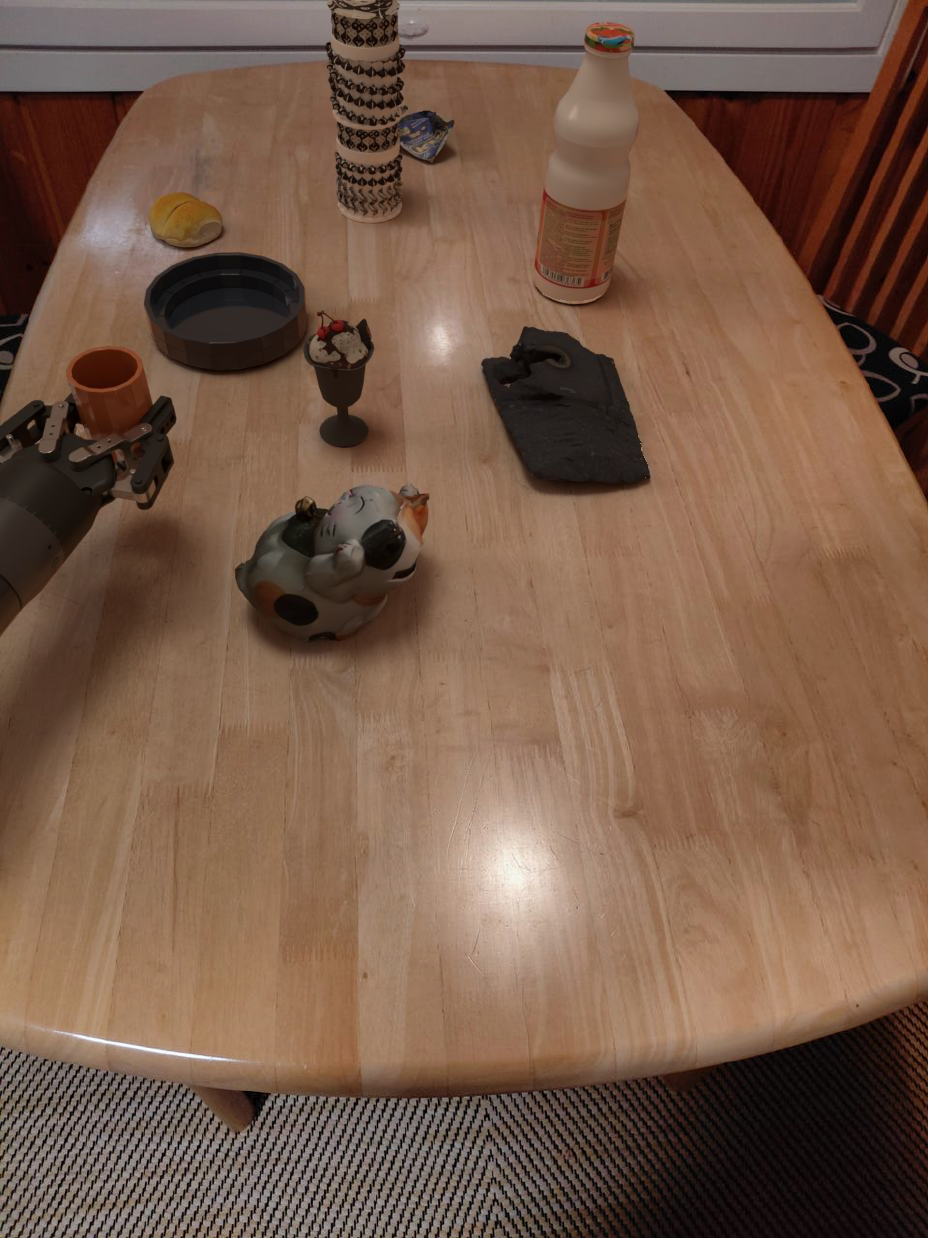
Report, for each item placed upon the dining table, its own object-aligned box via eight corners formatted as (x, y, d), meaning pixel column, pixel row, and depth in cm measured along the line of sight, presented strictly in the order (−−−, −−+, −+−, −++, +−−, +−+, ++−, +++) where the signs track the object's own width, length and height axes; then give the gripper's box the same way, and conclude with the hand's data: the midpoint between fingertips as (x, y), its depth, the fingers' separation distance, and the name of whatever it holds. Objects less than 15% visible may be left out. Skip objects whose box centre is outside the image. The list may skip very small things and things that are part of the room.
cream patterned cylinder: (393, 230, 119) (391, 10, 100) (324, 216, 121) (309, -4, 101) (413, 195, 125) (416, -19, 105) (348, 183, 126) (338, -32, 106)
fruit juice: (548, 311, 110) (584, 53, 88) (521, 268, 116) (549, 14, 94) (620, 301, 112) (674, 46, 90) (591, 259, 118) (634, 9, 96)
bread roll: (187, 205, 121) (182, 174, 117) (234, 231, 117) (229, 201, 114) (135, 229, 116) (128, 198, 113) (182, 257, 113) (176, 226, 110)
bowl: (207, 395, 98) (201, 363, 95) (122, 318, 105) (114, 286, 102) (338, 334, 105) (336, 303, 102) (250, 266, 113) (246, 235, 110)
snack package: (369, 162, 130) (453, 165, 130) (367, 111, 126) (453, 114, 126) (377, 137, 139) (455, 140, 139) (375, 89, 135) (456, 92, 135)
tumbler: (123, 506, 78) (89, 401, 69) (89, 469, 80) (52, 364, 71) (181, 477, 80) (156, 372, 72) (147, 442, 83) (118, 337, 74)
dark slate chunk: (507, 497, 91) (511, 461, 87) (477, 358, 104) (480, 321, 100) (658, 489, 93) (669, 453, 89) (610, 353, 106) (618, 317, 102)
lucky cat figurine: (307, 511, 88) (376, 408, 79) (400, 598, 88) (479, 505, 79) (205, 582, 76) (272, 472, 68) (312, 682, 77) (393, 585, 68)
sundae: (304, 448, 93) (290, 319, 82) (319, 406, 98) (308, 276, 86) (368, 457, 93) (364, 328, 81) (381, 414, 97) (379, 285, 85)
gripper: (89, 526, 62) (206, 378, 73) (-97, 472, 64) (43, 335, 75) (115, 597, 68) (220, 451, 78) (-55, 545, 70) (68, 409, 80)
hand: (133, 395), depth 76 cm, fingers closed on tumbler, 5 cm apart
